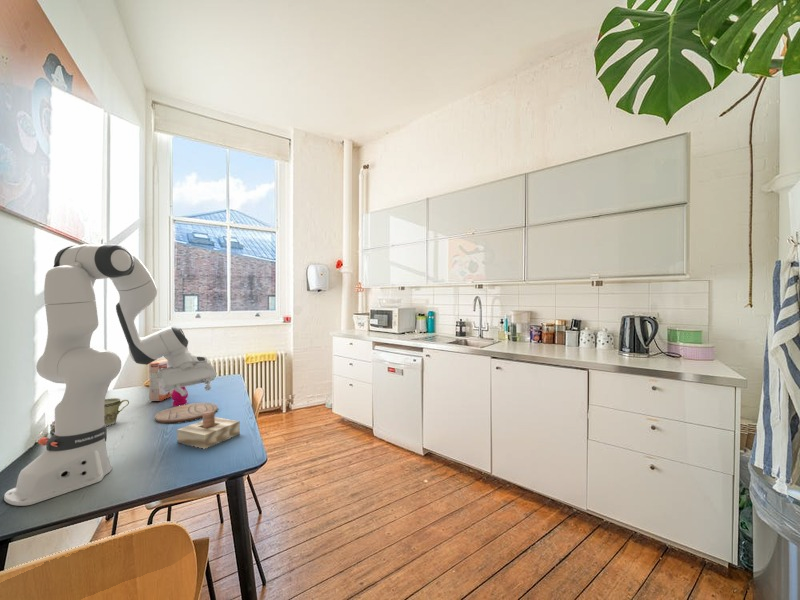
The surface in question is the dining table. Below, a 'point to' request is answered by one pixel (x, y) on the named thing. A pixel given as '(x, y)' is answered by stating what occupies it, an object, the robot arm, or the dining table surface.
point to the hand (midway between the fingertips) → (197, 392)
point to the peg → (208, 419)
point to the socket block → (208, 433)
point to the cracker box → (157, 382)
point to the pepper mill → (179, 398)
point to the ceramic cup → (112, 410)
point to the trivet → (184, 412)
